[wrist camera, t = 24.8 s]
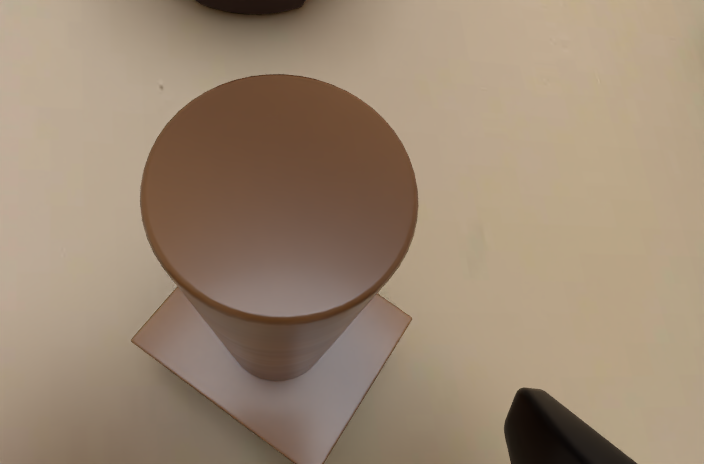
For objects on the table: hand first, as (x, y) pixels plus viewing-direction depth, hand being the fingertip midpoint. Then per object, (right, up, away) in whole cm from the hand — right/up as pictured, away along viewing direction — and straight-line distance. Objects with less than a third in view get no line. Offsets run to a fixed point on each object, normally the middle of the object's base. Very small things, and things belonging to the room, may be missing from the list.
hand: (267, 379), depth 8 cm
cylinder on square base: (-1, -2, +9) cm, 9 cm away
